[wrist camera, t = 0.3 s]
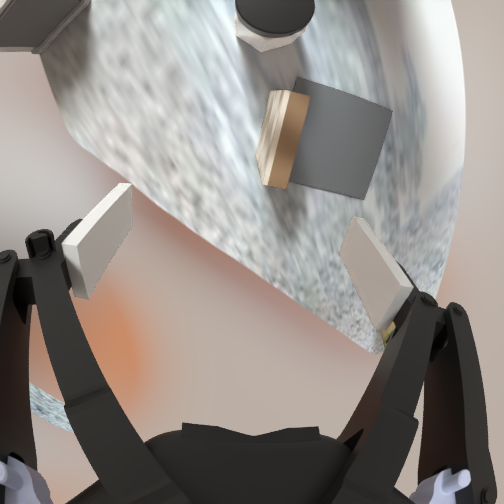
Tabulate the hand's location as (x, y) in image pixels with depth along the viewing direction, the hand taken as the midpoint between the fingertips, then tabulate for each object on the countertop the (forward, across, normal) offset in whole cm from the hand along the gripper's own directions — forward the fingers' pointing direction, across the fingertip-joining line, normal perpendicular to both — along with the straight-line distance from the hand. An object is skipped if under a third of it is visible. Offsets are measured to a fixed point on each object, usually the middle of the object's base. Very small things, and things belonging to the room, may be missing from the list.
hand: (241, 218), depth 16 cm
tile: (+27, +4, +3) cm, 27 cm away
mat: (+27, +14, +2) cm, 30 cm away
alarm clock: (+27, -38, +25) cm, 53 cm away
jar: (+27, 0, +18) cm, 33 cm away
